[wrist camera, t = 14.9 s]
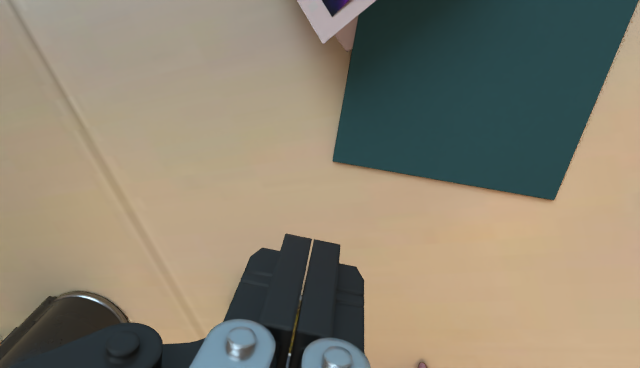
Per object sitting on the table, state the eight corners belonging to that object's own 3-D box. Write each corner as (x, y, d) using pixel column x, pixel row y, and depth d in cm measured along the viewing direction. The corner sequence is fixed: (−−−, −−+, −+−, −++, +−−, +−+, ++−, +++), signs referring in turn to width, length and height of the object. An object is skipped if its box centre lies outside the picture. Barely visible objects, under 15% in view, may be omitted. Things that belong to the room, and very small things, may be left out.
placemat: (332, 159, 41) (332, 161, 41) (390, -165, 31) (390, -166, 30) (552, 198, 41) (554, 200, 40) (684, -116, 30) (688, -117, 30)
